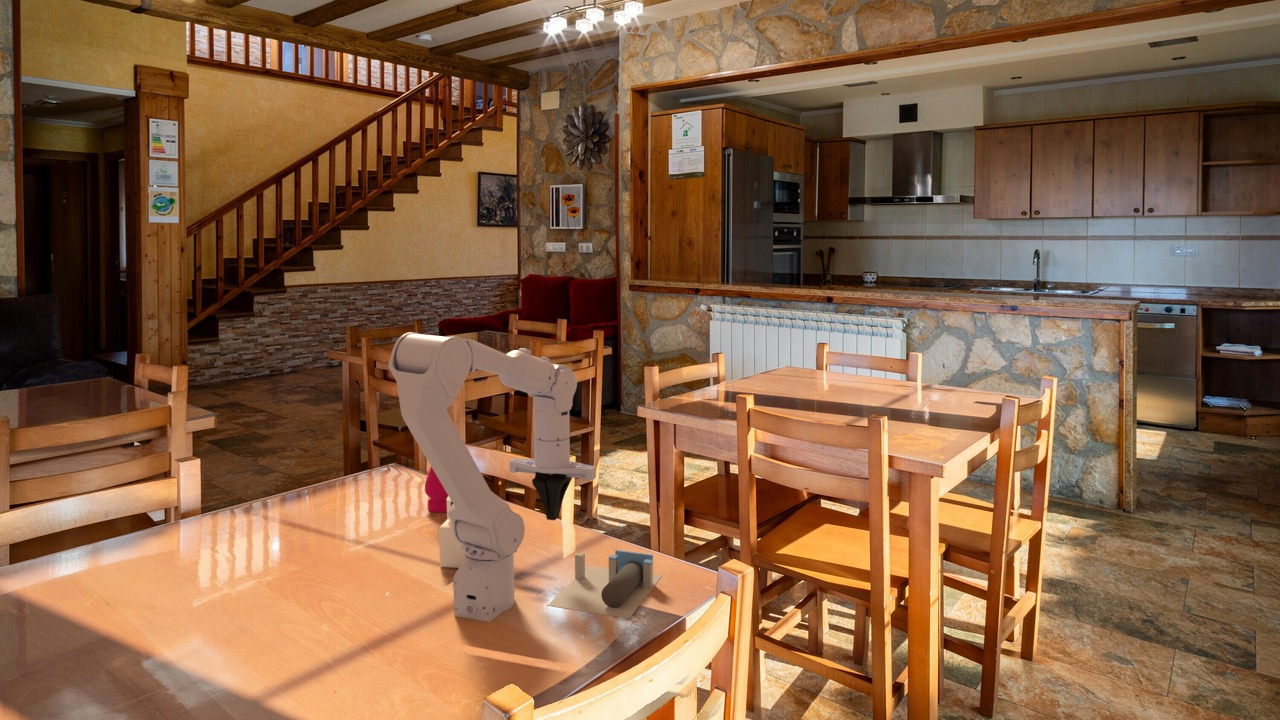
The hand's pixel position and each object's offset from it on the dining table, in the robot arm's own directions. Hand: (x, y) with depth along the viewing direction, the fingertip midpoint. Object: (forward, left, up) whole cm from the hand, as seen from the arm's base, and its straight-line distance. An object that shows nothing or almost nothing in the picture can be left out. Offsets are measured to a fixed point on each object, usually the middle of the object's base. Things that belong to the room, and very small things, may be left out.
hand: (552, 518), depth 135 cm
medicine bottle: (+1, +17, -10) cm, 20 cm away
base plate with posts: (-4, -11, -10) cm, 15 cm away
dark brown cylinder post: (-5, -14, -9) cm, 17 cm away
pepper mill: (+24, +36, -10) cm, 44 cm away
